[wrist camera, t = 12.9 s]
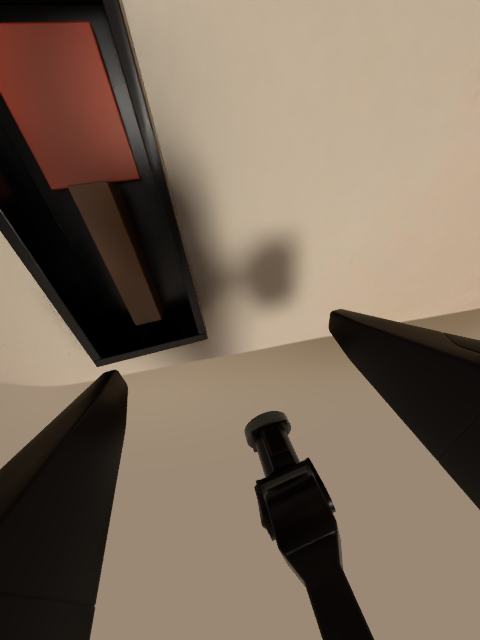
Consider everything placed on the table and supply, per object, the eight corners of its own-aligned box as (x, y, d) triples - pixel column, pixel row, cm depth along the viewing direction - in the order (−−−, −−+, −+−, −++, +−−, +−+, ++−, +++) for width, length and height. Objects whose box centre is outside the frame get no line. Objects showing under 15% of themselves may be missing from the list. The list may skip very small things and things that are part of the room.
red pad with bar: (95, 31, 10) (73, -12, 8) (181, 301, 18) (181, 315, 16) (-23, 34, 9) (-82, -14, 7) (122, 314, 17) (114, 331, 15)
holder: (202, 312, 20) (208, 339, 16) (113, 333, 18) (96, 367, 15) (119, -9, 10) (83, -136, 6) (-84, -11, 9) (-288, -172, 5)
